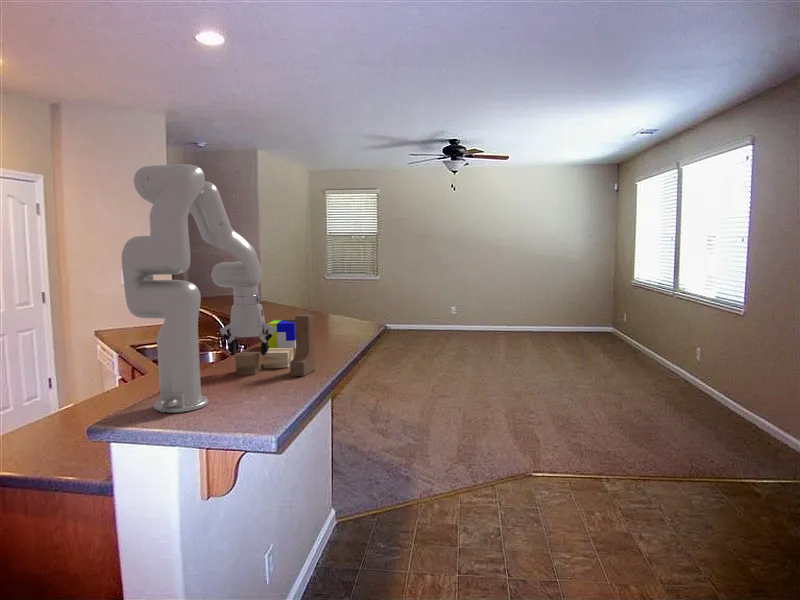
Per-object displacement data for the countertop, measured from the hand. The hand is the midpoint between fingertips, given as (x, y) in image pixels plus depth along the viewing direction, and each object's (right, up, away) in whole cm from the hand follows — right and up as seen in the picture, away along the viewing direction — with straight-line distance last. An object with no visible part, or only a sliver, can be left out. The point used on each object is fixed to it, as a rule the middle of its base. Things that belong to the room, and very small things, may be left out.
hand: (249, 354), depth 174 cm
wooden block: (+17, -6, -2) cm, 18 cm away
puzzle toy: (+2, -1, +43) cm, 43 cm away
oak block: (+7, -5, +10) cm, 13 cm away
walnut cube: (0, -6, 0) cm, 6 cm away
